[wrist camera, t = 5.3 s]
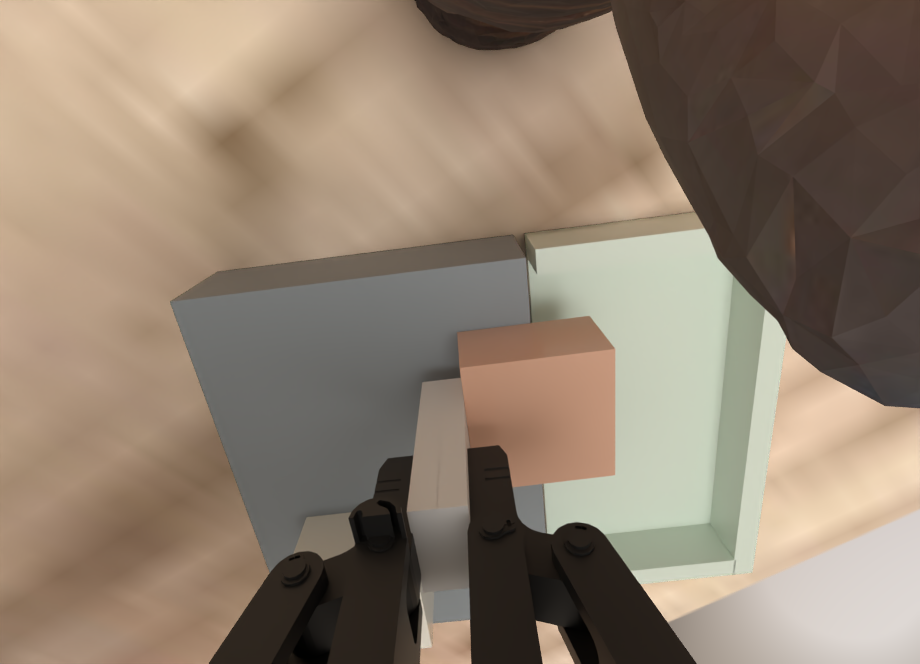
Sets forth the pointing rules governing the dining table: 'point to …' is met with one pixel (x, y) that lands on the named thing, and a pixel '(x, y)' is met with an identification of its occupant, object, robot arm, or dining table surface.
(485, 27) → the mortar and pestle
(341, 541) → the tile cream
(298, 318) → the grey rectangular slab
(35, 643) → the dining table surface
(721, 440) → the tray
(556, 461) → the tile terracotta
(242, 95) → the dining table surface
